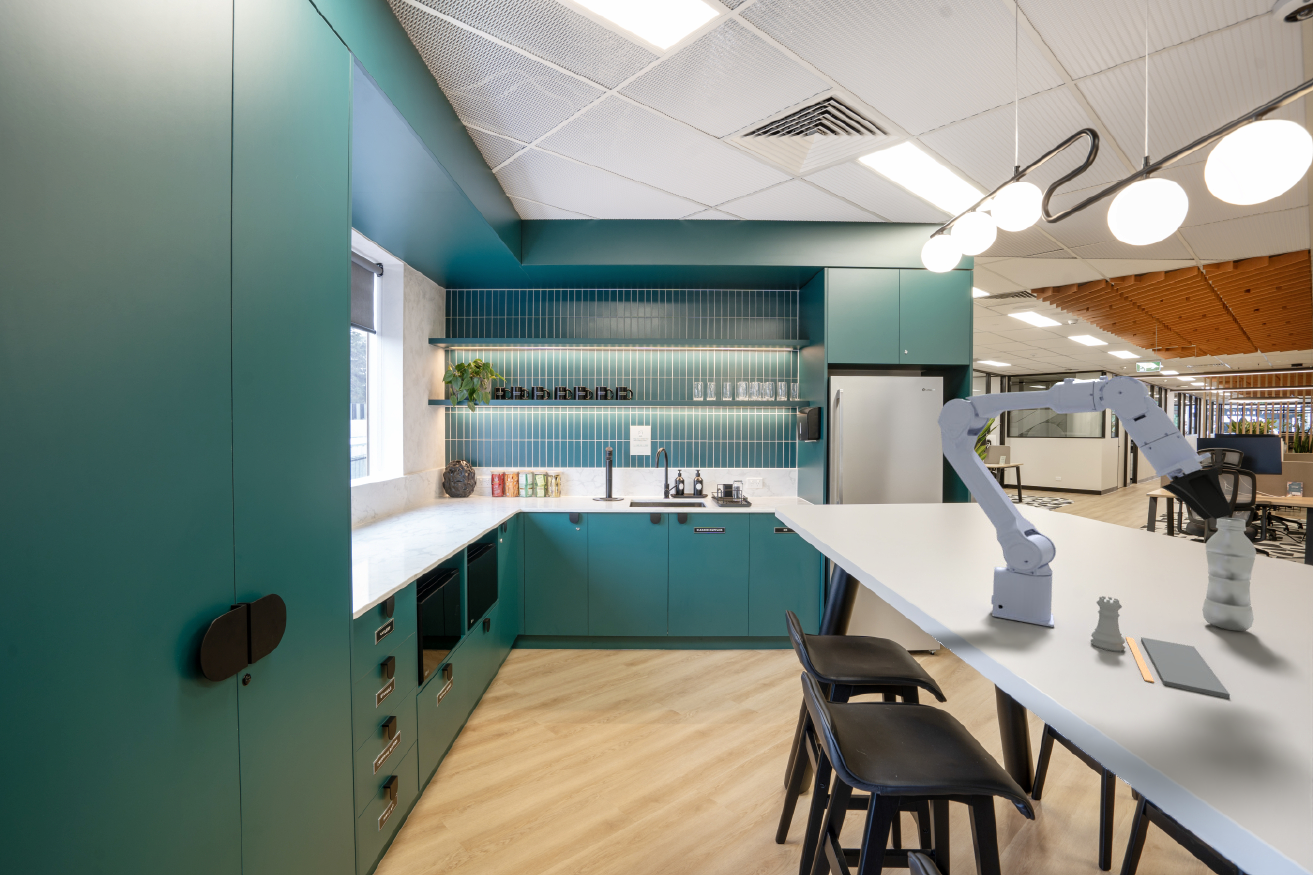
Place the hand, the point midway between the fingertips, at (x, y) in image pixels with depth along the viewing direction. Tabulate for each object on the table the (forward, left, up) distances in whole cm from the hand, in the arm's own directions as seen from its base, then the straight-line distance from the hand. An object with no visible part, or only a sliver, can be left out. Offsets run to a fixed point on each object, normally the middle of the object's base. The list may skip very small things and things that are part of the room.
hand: (1217, 517), depth 85 cm
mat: (-5, -6, -22) cm, 24 cm away
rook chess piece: (-13, -3, -23) cm, 26 cm away
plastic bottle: (+6, +22, -23) cm, 32 cm away
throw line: (-9, -6, -22) cm, 25 cm away
